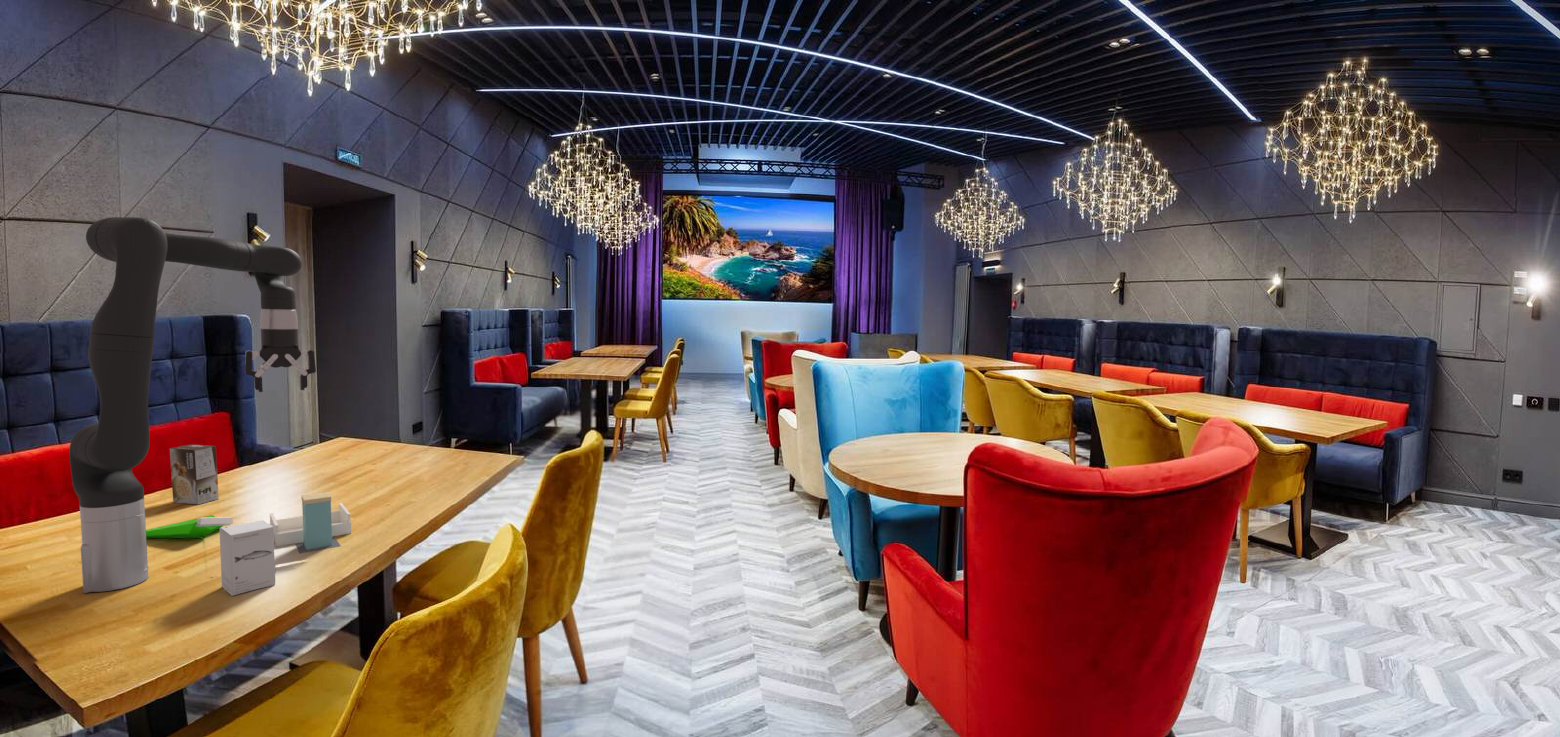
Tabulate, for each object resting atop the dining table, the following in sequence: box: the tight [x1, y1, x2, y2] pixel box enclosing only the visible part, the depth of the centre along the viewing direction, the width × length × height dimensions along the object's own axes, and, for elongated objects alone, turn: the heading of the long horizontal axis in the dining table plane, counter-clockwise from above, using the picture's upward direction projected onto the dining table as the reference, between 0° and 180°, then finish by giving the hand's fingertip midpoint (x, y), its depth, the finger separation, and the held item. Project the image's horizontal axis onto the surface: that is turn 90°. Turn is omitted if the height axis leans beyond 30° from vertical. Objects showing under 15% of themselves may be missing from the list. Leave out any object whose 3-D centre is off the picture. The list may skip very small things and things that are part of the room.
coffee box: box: [169, 444, 220, 505], centre depth 190 cm, size 9×6×16 cm
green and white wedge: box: [146, 514, 234, 539], centre depth 161 cm, size 11×5×25 cm
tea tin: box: [301, 491, 332, 550], centre depth 157 cm, size 5×5×12 cm
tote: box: [269, 502, 352, 547], centre depth 165 cm, size 15×13×6 cm
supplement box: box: [218, 519, 276, 597], centre depth 134 cm, size 7×7×13 cm
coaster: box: [294, 536, 341, 555], centre depth 157 cm, size 8×8×1 cm
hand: (281, 390), depth 166 cm, fingers open, 8 cm apart
